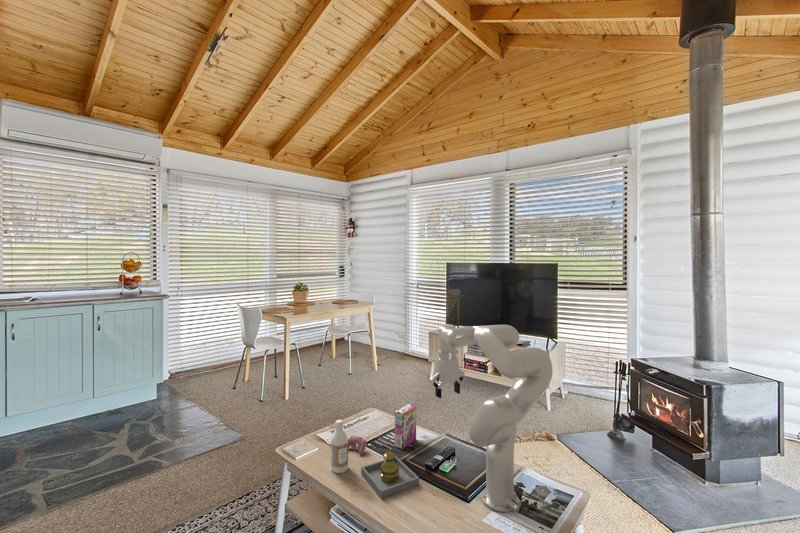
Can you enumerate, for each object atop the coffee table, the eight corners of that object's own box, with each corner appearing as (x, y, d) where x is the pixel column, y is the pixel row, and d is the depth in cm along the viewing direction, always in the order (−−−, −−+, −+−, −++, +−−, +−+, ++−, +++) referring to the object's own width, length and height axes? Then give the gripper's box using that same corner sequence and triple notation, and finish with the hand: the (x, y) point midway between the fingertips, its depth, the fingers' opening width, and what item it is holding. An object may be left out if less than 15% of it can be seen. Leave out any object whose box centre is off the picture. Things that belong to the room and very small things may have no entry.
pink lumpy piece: (365, 456, 166) (369, 439, 169) (360, 455, 163) (364, 438, 165) (348, 450, 171) (352, 434, 174) (342, 450, 168) (346, 433, 170)
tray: (419, 485, 142) (419, 477, 142) (381, 499, 134) (381, 491, 134) (396, 462, 158) (395, 455, 157) (361, 474, 150) (361, 467, 150)
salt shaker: (376, 480, 144) (376, 455, 144) (385, 470, 151) (385, 446, 150) (394, 485, 141) (393, 459, 140) (402, 474, 148) (401, 449, 147)
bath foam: (335, 476, 149) (334, 426, 148) (328, 467, 155) (327, 420, 154) (351, 470, 153) (350, 421, 152) (343, 462, 158) (343, 415, 158)
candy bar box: (403, 450, 168) (403, 414, 167) (394, 446, 171) (394, 411, 170) (417, 439, 177) (416, 405, 177) (408, 437, 180) (407, 403, 179)
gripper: (458, 350, 165) (458, 388, 165) (425, 355, 156) (425, 396, 157) (469, 353, 158) (469, 393, 159) (435, 359, 150) (436, 402, 150)
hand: (447, 394), depth 158 cm, fingers open, 9 cm apart
